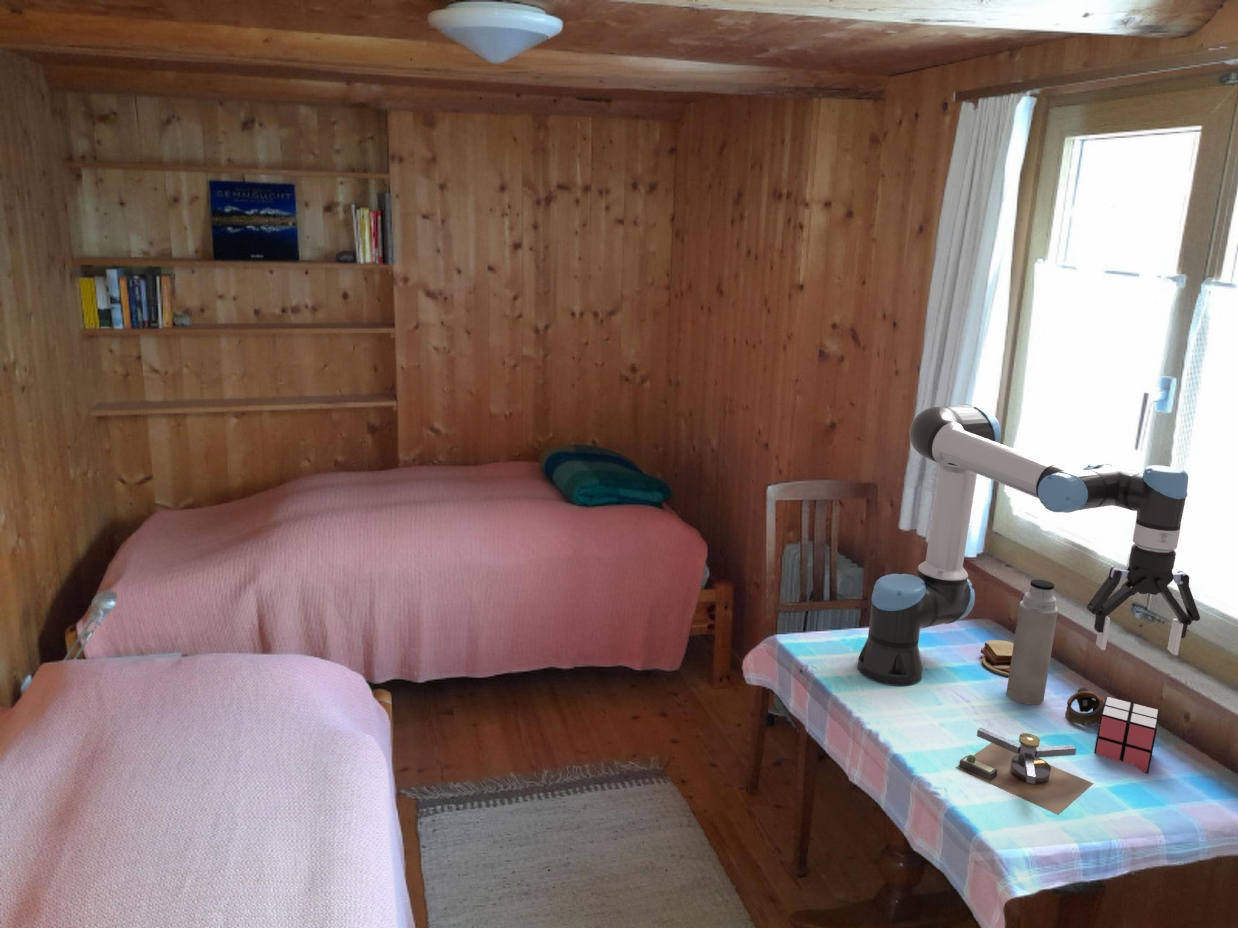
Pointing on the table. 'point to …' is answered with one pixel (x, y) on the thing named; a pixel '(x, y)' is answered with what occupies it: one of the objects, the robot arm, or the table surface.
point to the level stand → (996, 771)
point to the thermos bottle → (1033, 644)
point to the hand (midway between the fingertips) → (1136, 649)
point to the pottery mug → (1085, 707)
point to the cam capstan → (1028, 755)
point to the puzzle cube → (1127, 732)
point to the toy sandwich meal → (998, 656)
